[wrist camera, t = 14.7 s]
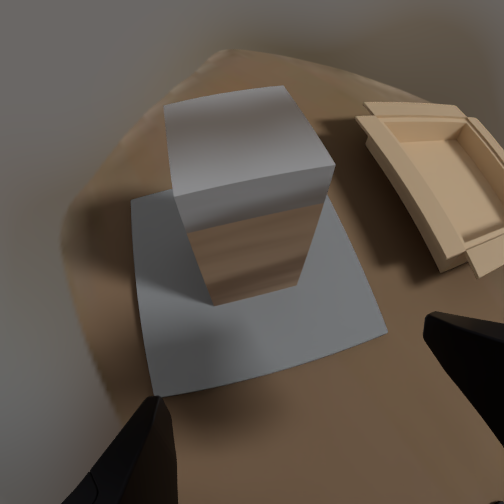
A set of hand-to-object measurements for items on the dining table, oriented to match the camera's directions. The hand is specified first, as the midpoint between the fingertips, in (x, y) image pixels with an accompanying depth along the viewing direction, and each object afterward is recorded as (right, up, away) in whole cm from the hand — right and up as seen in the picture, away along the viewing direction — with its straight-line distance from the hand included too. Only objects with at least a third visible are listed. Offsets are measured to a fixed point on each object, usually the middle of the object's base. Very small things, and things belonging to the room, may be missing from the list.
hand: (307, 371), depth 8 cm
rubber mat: (-2, +3, +11) cm, 11 cm away
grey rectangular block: (-2, +3, +10) cm, 11 cm away
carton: (+17, +9, +14) cm, 24 cm away
